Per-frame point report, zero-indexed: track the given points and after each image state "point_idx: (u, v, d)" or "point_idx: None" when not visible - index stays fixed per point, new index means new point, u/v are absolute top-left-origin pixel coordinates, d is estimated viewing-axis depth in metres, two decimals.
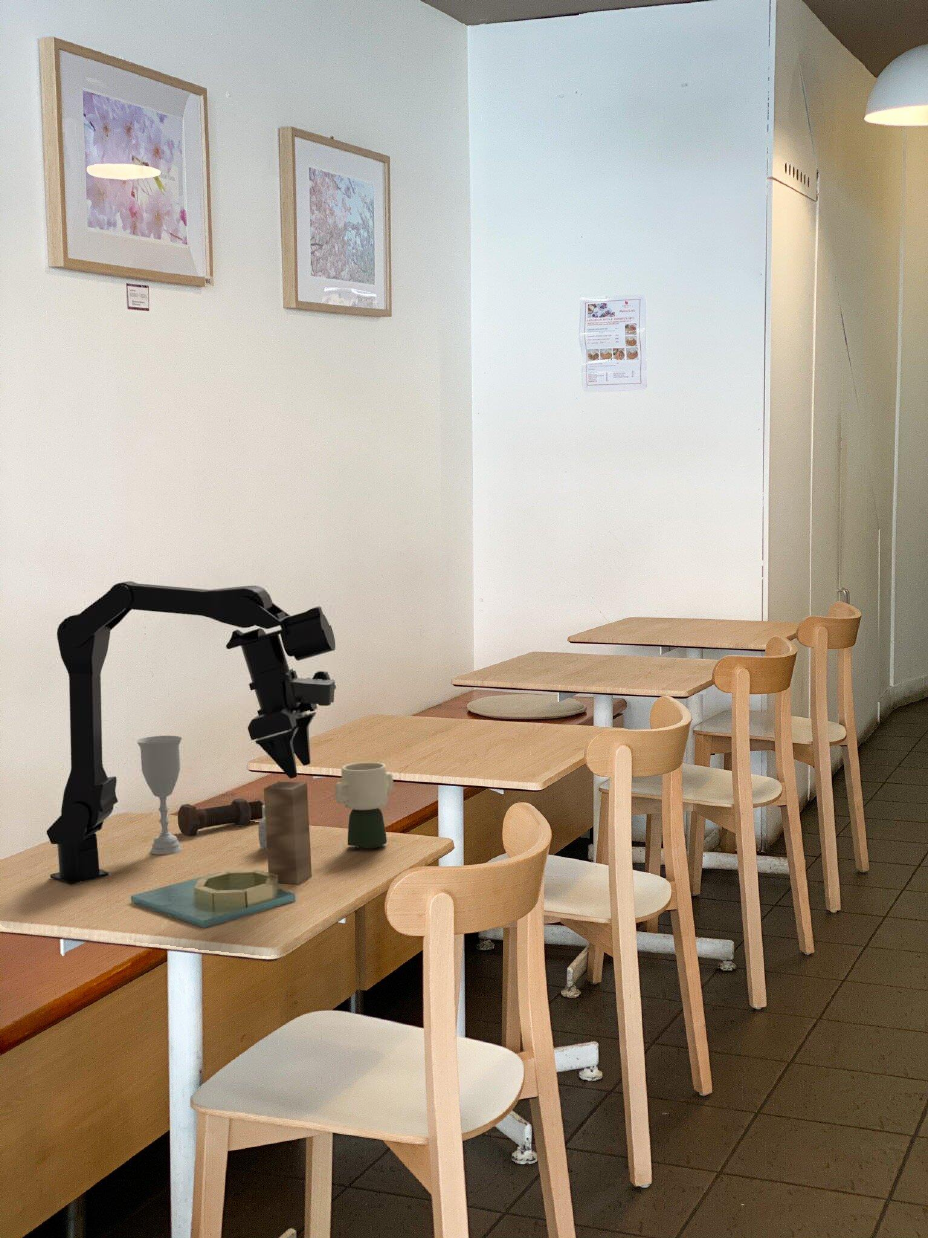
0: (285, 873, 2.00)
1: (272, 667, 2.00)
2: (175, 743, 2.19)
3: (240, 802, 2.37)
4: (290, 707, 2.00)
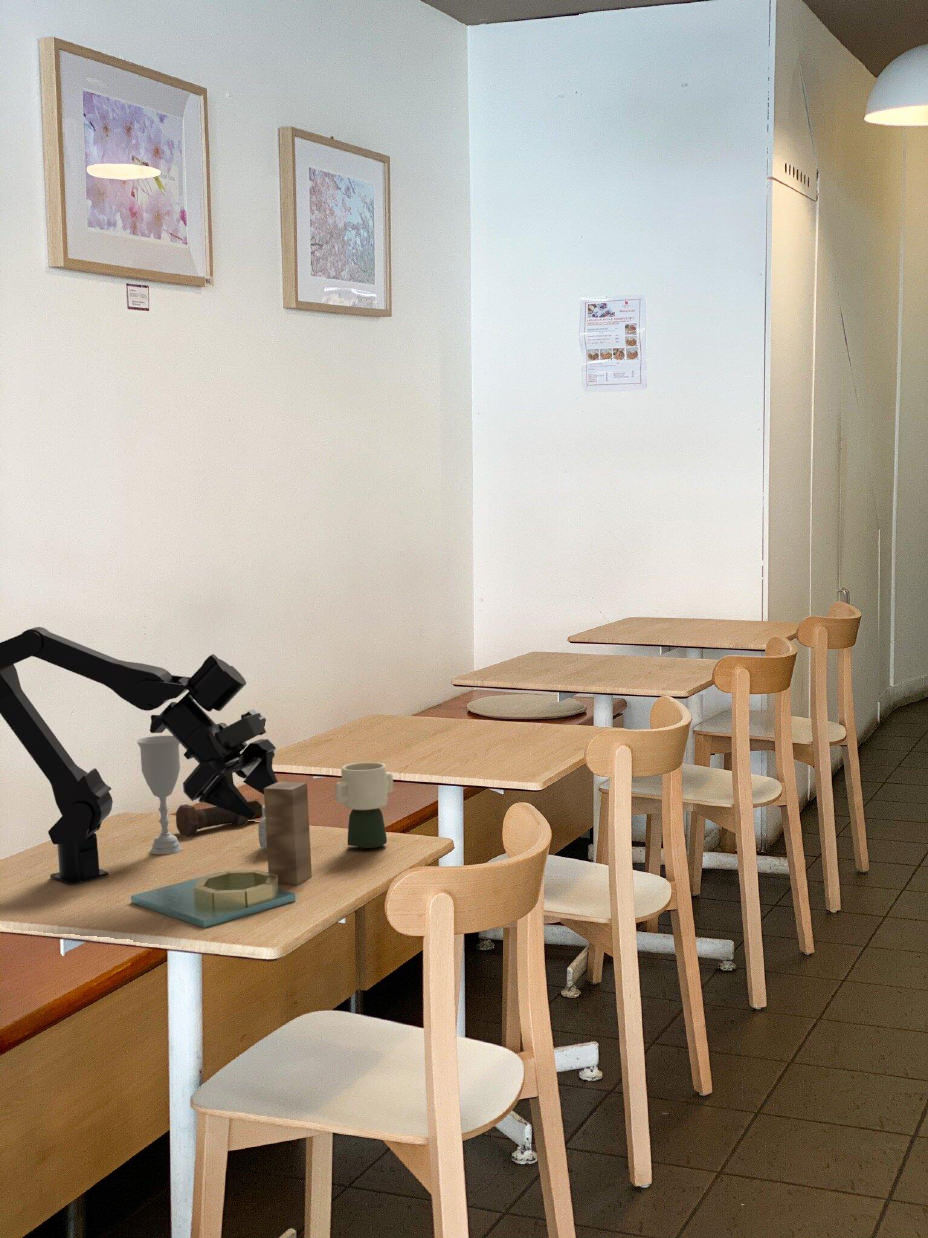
0: (285, 873, 2.00)
1: (196, 726, 2.03)
2: (175, 743, 2.19)
3: None
4: (223, 756, 2.01)
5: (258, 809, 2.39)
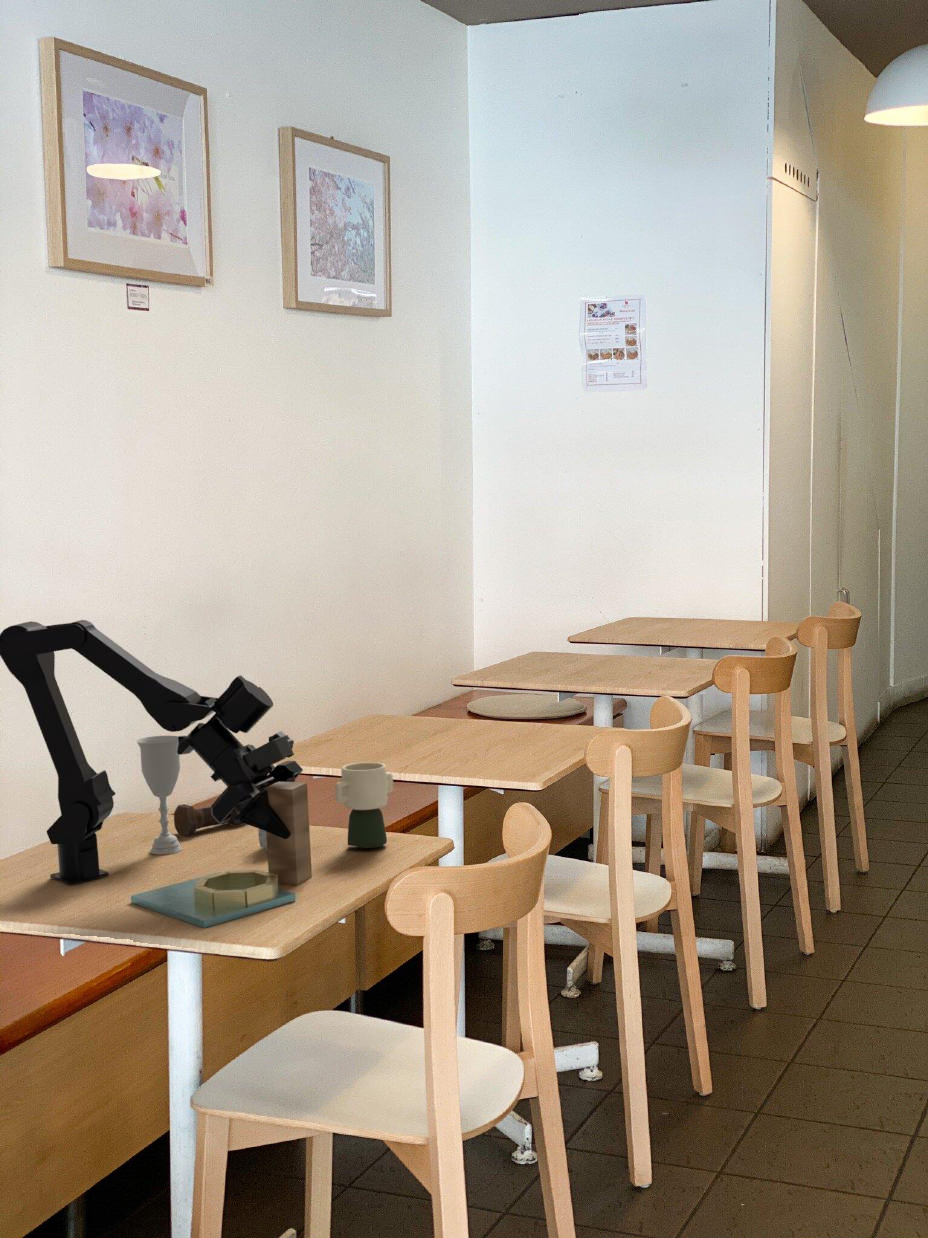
0: (285, 873, 2.00)
1: (223, 748, 2.02)
2: (175, 743, 2.19)
3: None
4: (251, 778, 2.00)
5: None
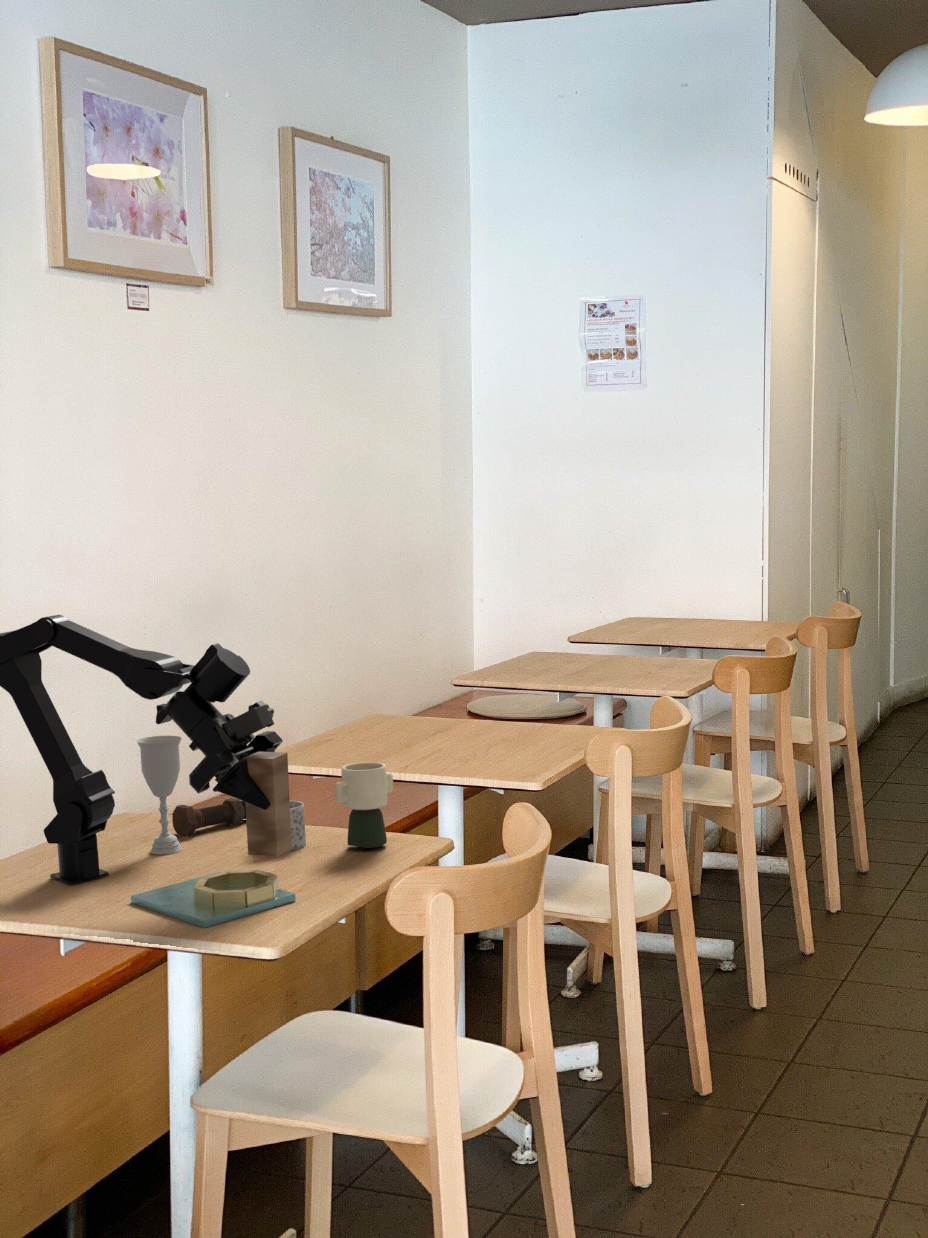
0: (265, 845, 1.96)
1: (199, 719, 1.97)
2: (175, 743, 2.19)
3: (233, 801, 2.37)
4: (230, 748, 1.96)
5: None
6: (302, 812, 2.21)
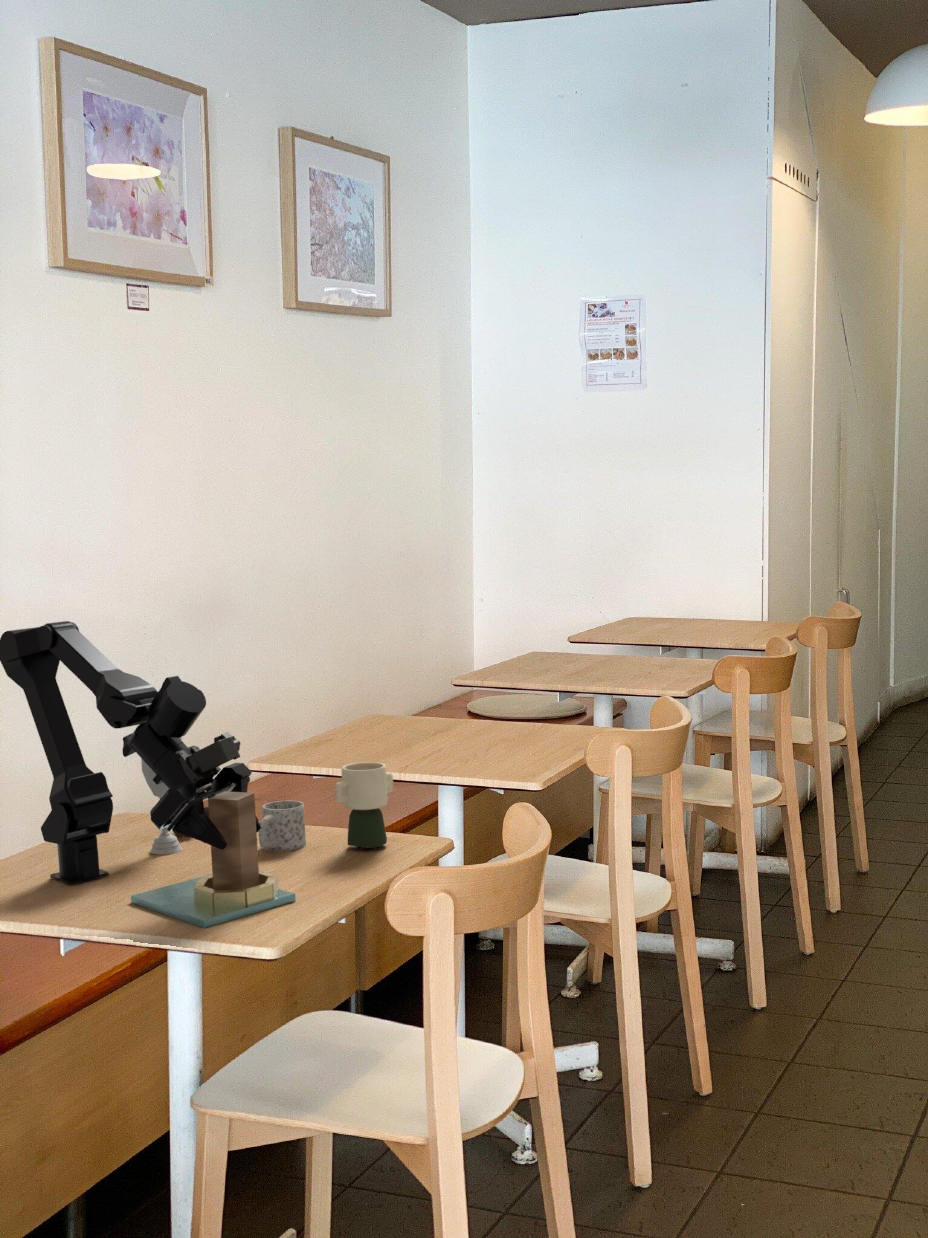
0: (231, 888, 1.90)
1: (159, 756, 1.91)
2: None
3: None
4: (194, 782, 1.89)
5: None
6: (302, 812, 2.21)
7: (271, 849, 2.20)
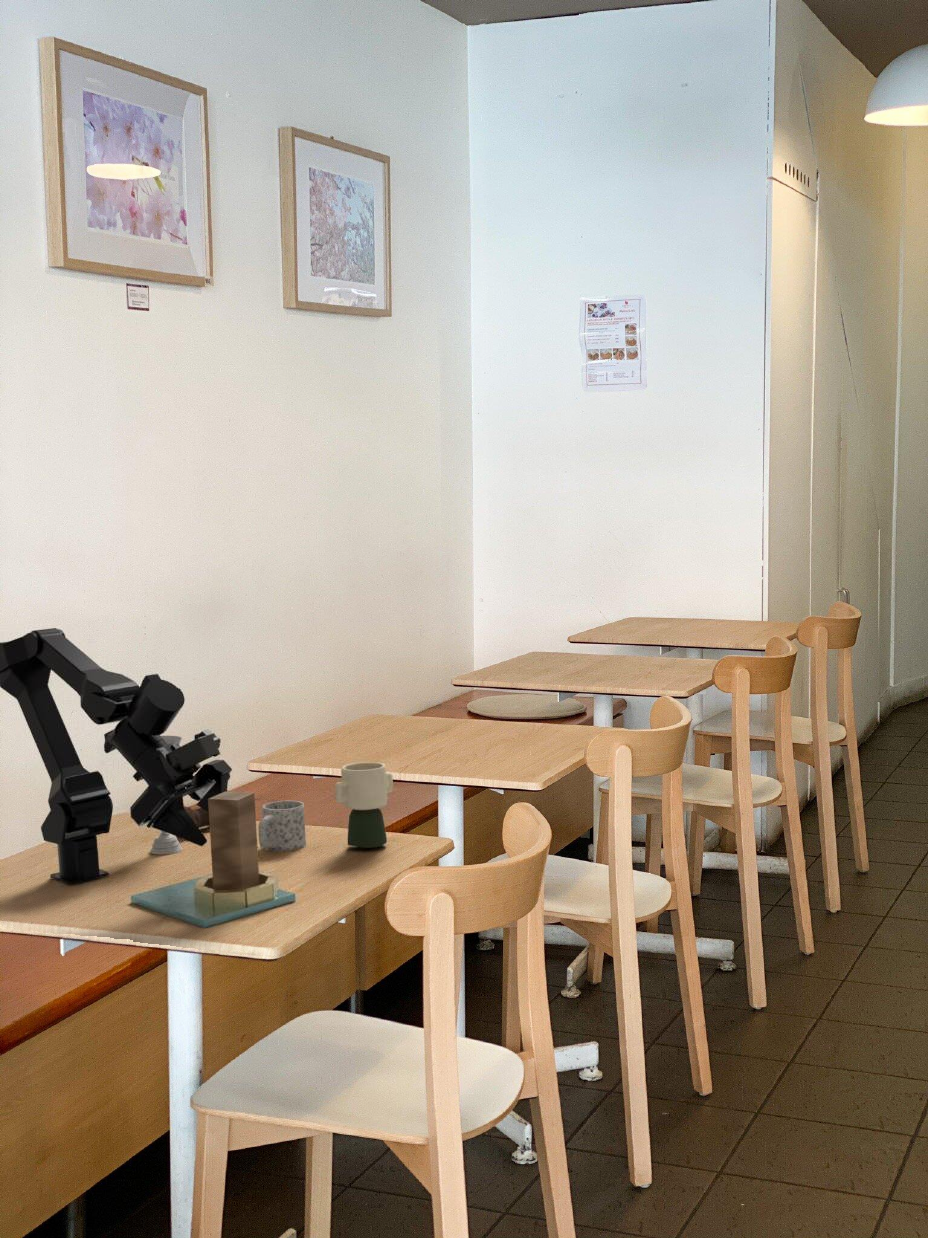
0: (231, 888, 1.90)
1: (138, 753, 1.92)
2: None
3: None
4: (174, 778, 1.91)
5: None
6: (302, 812, 2.21)
7: (271, 849, 2.20)
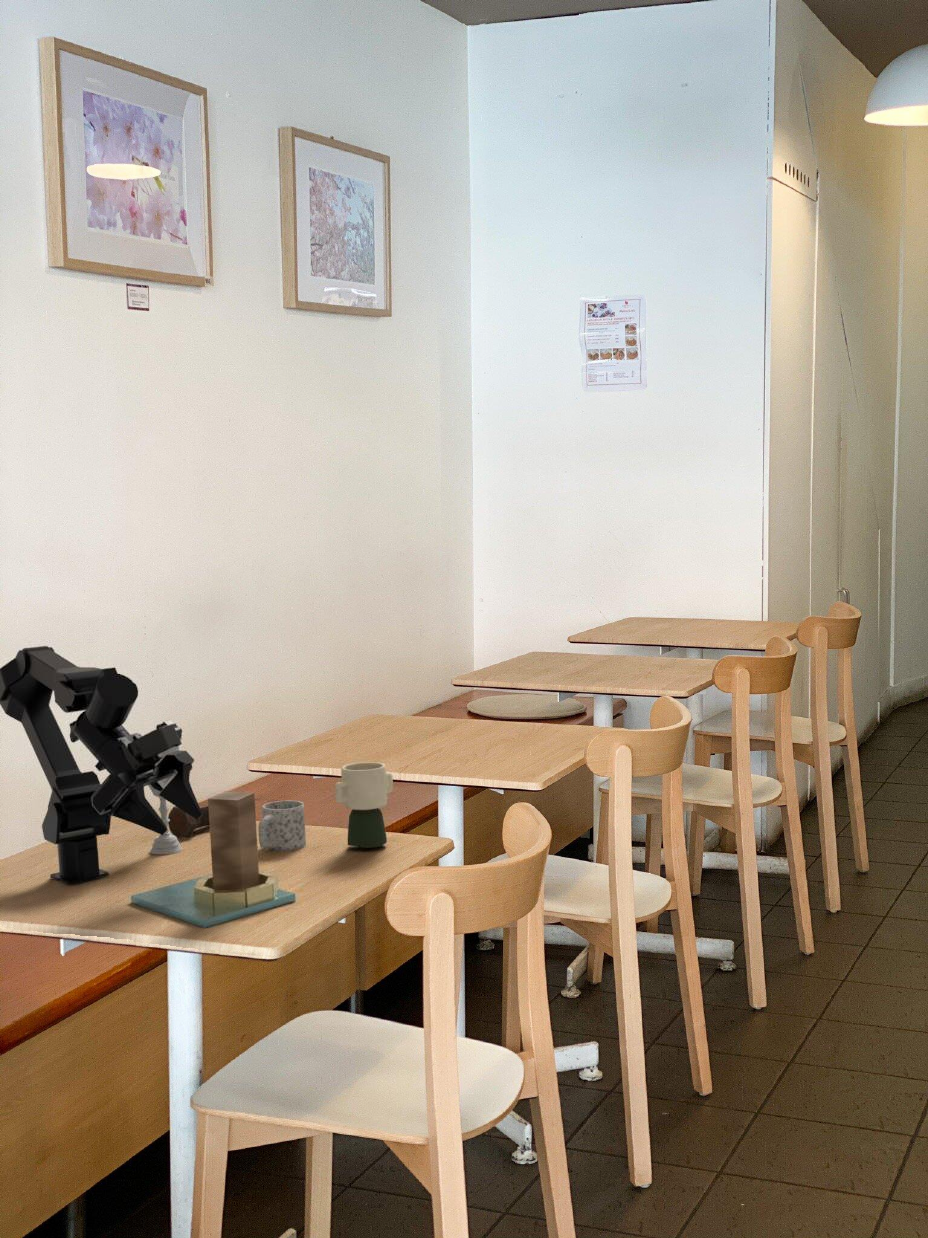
0: (231, 888, 1.90)
1: (98, 745, 1.94)
2: None
3: None
4: (135, 768, 1.93)
5: None
6: (302, 812, 2.21)
7: (271, 849, 2.20)
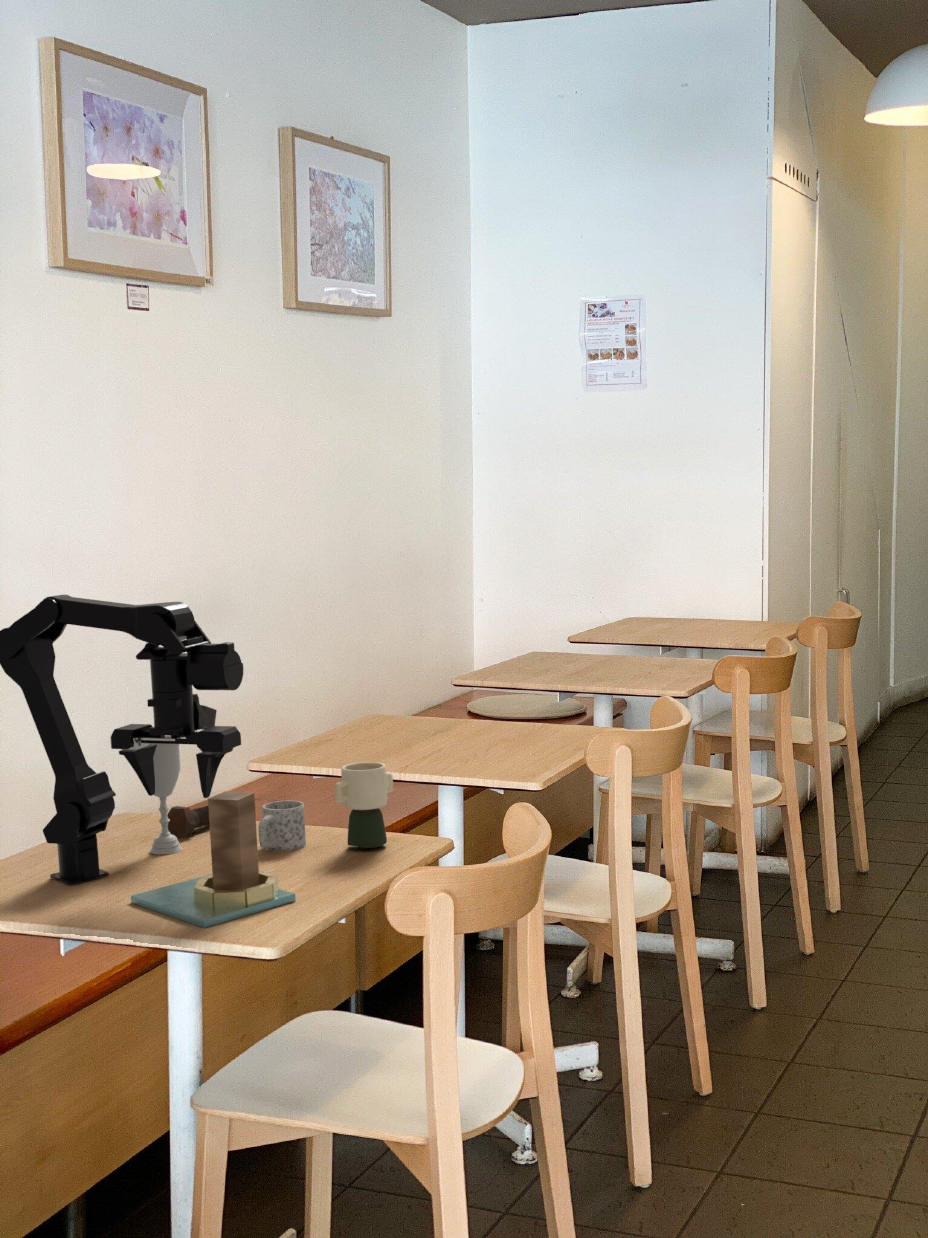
0: (231, 888, 1.90)
1: (170, 690, 1.97)
2: None
3: None
4: (200, 728, 2.02)
5: None
6: (302, 812, 2.21)
7: (271, 849, 2.20)
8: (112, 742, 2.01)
